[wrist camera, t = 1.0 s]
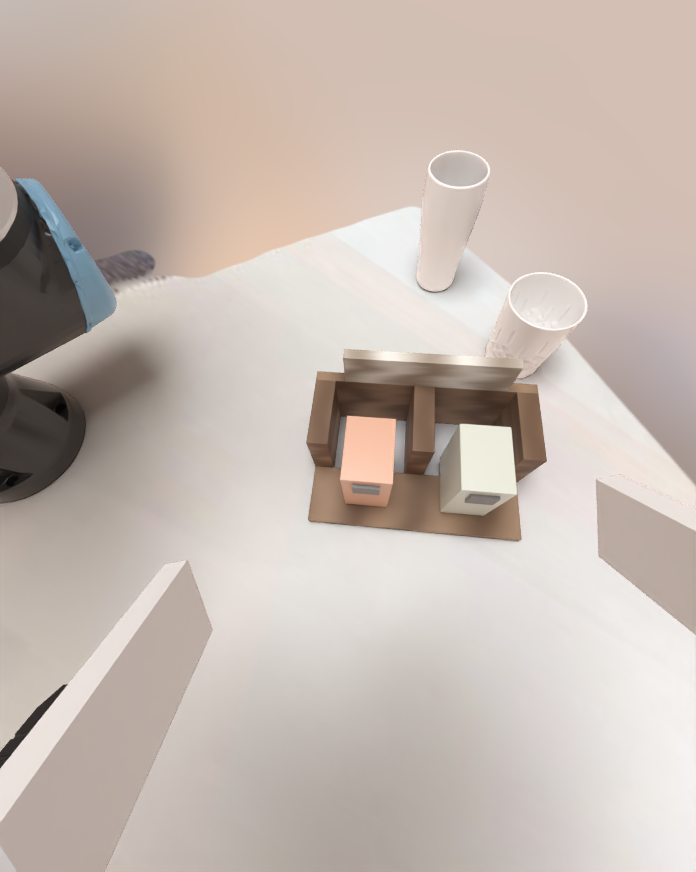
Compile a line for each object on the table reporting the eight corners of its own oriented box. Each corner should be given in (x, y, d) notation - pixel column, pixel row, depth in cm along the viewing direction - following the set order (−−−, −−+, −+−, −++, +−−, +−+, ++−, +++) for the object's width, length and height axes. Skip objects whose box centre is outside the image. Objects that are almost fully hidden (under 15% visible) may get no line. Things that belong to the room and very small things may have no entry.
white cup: (549, 344, 47) (594, 284, 38) (534, 392, 44) (579, 340, 35) (490, 325, 48) (519, 263, 39) (472, 370, 46) (499, 315, 36)
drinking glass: (401, 275, 53) (414, 163, 39) (438, 256, 54) (464, 142, 40) (428, 304, 50) (453, 196, 36) (467, 284, 51) (505, 173, 38)
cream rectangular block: (440, 514, 37) (461, 493, 29) (440, 458, 40) (459, 423, 32) (483, 518, 37) (517, 498, 29) (480, 461, 39) (511, 427, 31)
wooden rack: (309, 521, 39) (287, 493, 28) (325, 407, 44) (312, 347, 33) (517, 540, 37) (582, 520, 26) (507, 420, 43) (557, 361, 32)
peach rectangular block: (345, 506, 38) (339, 483, 30) (350, 451, 41) (347, 415, 32) (386, 509, 38) (392, 487, 29) (389, 454, 40) (396, 419, 32)
